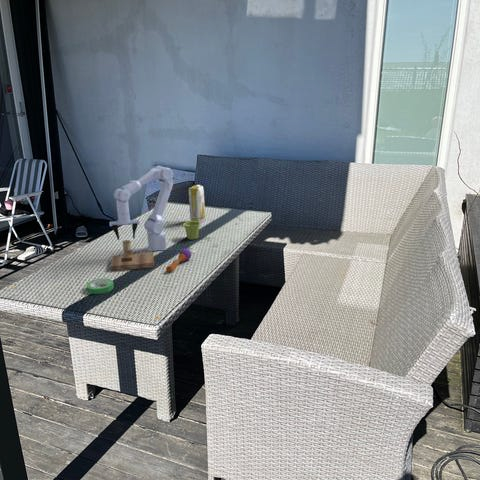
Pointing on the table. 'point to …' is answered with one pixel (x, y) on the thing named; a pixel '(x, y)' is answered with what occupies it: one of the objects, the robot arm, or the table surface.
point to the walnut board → (132, 261)
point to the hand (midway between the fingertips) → (126, 238)
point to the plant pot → (192, 229)
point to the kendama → (180, 259)
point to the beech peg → (127, 247)
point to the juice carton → (197, 203)
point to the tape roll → (100, 290)
